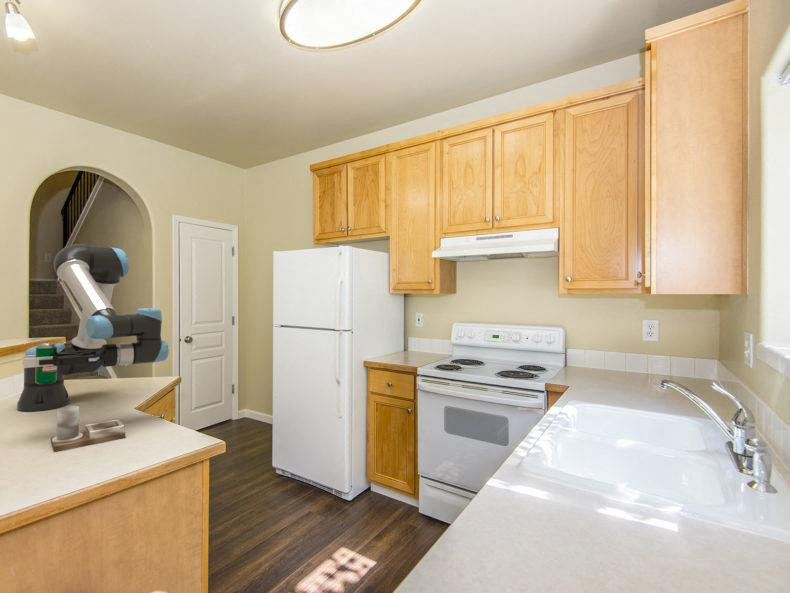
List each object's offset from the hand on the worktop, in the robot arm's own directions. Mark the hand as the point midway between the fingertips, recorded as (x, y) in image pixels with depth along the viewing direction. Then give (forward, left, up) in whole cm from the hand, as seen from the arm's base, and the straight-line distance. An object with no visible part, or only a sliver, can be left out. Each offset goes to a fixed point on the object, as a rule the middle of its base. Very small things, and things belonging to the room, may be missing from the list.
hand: (23, 361), depth 121 cm
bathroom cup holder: (-7, +18, -24) cm, 30 cm away
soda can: (-5, +3, -7) cm, 9 cm away
